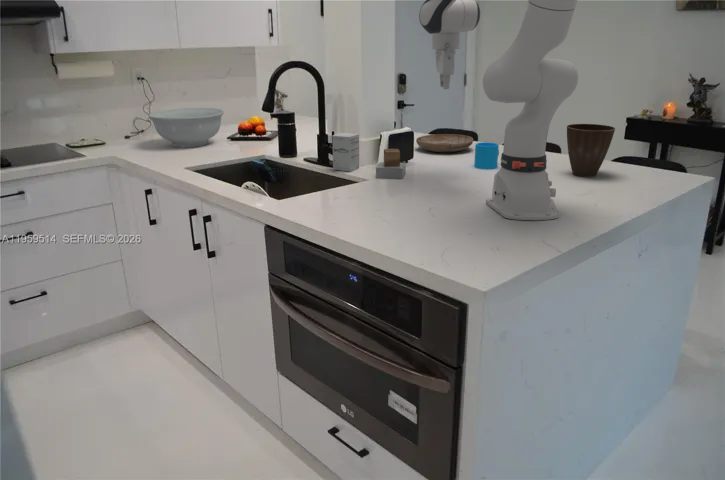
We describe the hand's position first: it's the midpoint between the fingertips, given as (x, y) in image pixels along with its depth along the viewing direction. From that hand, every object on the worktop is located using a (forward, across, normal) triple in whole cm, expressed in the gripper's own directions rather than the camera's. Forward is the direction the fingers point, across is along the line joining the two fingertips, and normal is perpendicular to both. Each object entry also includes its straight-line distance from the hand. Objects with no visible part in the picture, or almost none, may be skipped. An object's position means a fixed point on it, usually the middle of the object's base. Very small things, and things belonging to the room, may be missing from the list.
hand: (444, 87), depth 181 cm
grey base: (+29, -3, +18) cm, 34 cm away
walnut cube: (+25, -3, +17) cm, 31 cm away
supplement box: (+29, +7, +34) cm, 45 cm away
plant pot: (+29, -3, -48) cm, 56 cm away
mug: (+29, +11, -18) cm, 36 cm away
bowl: (+29, +60, +108) cm, 127 cm away
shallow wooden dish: (+29, +42, -5) cm, 51 cm away
